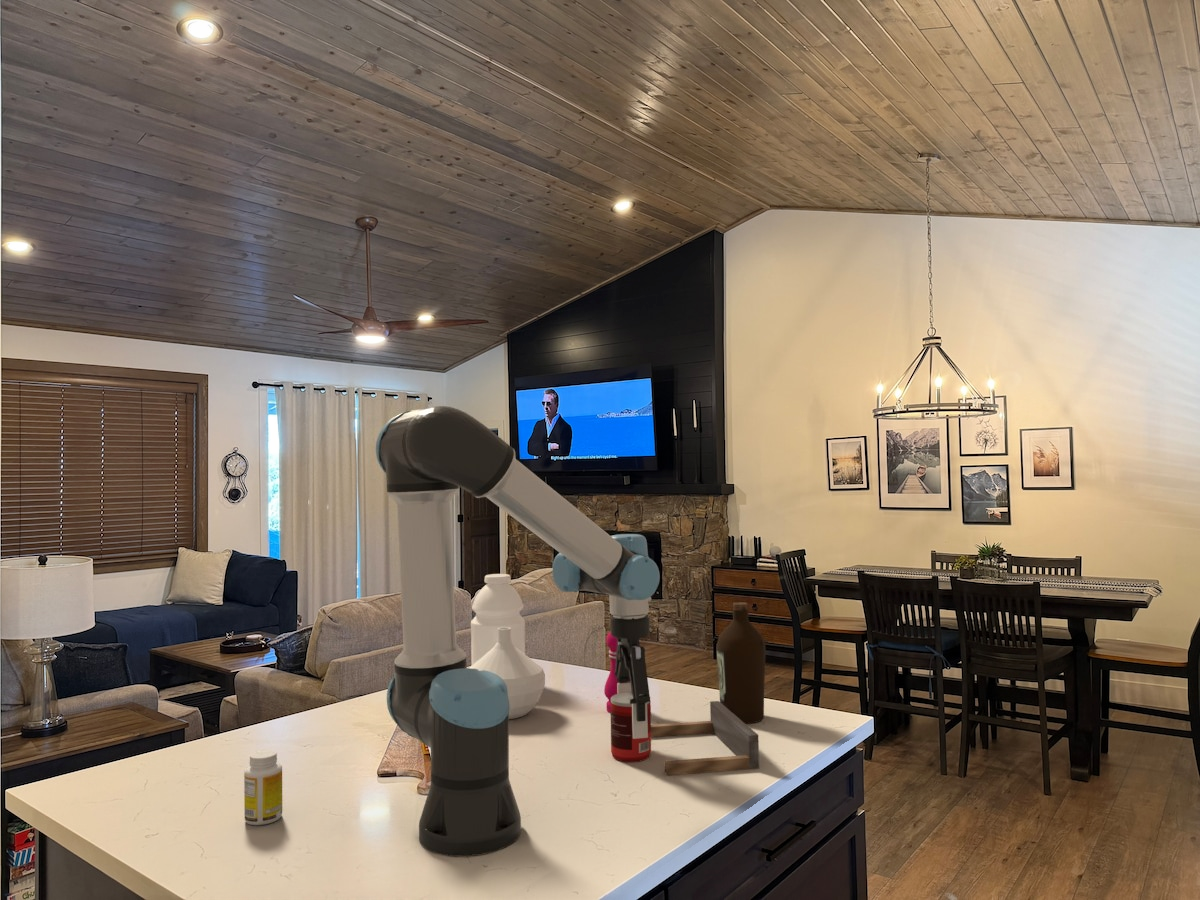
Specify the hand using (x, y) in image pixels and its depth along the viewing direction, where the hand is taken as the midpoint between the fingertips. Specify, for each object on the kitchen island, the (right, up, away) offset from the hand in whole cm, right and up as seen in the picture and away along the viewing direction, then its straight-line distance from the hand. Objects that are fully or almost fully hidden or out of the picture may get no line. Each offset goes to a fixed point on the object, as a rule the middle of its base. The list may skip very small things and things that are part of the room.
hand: (632, 726), depth 159 cm
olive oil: (+25, -6, +23) cm, 35 cm away
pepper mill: (-2, -6, +30) cm, 31 cm away
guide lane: (+12, -5, +2) cm, 13 cm away
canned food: (0, -6, 0) cm, 6 cm away
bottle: (-32, -7, +54) cm, 63 cm away
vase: (-28, -7, +28) cm, 40 cm away
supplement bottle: (-59, -6, -28) cm, 66 cm away
